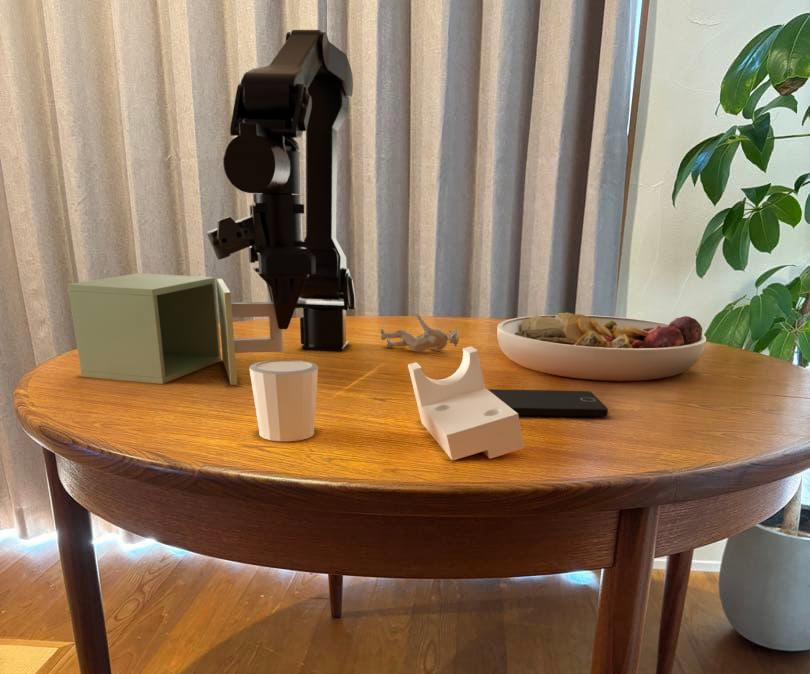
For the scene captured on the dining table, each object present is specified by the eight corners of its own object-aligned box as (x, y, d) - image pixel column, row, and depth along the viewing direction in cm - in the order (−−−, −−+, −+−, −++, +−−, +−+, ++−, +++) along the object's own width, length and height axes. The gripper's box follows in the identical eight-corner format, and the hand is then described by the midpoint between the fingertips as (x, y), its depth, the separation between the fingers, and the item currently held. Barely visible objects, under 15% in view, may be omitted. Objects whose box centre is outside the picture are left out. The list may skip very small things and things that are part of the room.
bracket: (423, 430, 84) (407, 364, 81) (484, 412, 85) (470, 346, 81) (454, 469, 73) (437, 394, 69) (524, 448, 73) (510, 372, 70)
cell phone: (608, 417, 87) (609, 409, 86) (450, 415, 86) (451, 406, 86) (589, 398, 95) (590, 390, 94) (445, 395, 94) (445, 388, 94)
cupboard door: (272, 358, 112) (267, 278, 108) (286, 383, 99) (282, 291, 94) (222, 360, 110) (216, 278, 106) (230, 385, 97) (224, 292, 92)
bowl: (470, 372, 107) (473, 315, 104) (522, 339, 133) (526, 292, 129) (694, 396, 97) (705, 333, 94) (704, 355, 123) (713, 304, 119)
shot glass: (326, 425, 82) (324, 360, 79) (312, 445, 76) (310, 374, 73) (263, 422, 82) (259, 357, 79) (245, 441, 76) (240, 371, 73)
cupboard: (221, 361, 111) (215, 277, 106) (163, 384, 97) (152, 289, 92) (148, 355, 114) (138, 273, 109) (81, 377, 100) (67, 284, 95)
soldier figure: (395, 350, 126) (464, 331, 122) (395, 374, 124) (466, 356, 120) (376, 321, 120) (449, 300, 116) (377, 346, 118) (451, 325, 114)
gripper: (205, 192, 97) (214, 317, 104) (210, 192, 81) (221, 341, 88) (292, 194, 100) (296, 317, 107) (314, 195, 84) (317, 340, 90)
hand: (282, 327), depth 98 cm, fingers closed on cupboard door, 2 cm apart
